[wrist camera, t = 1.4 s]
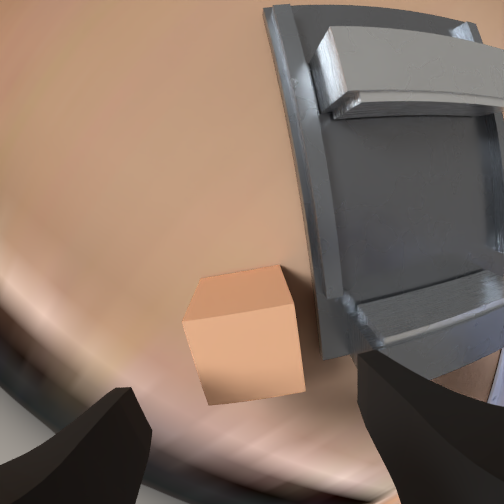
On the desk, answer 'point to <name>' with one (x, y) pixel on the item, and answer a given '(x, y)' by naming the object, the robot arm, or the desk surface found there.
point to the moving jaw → (405, 74)
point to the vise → (395, 208)
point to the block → (245, 336)
